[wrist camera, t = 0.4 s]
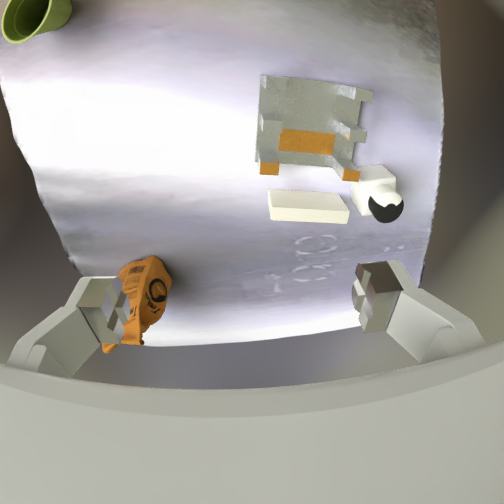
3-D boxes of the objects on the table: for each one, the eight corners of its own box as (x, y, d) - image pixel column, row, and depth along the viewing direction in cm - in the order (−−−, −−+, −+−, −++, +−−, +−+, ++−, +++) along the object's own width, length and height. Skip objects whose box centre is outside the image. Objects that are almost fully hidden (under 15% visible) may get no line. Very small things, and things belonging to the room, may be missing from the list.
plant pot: (34, 47, 35) (-1, 51, 26) (39, -3, 28) (5, -7, 19) (80, 34, 36) (47, 33, 27) (87, -19, 29) (56, -29, 20)
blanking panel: (268, 188, 57) (272, 207, 50) (337, 193, 58) (349, 211, 51) (267, 200, 58) (270, 220, 52) (335, 204, 59) (346, 223, 53)
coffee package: (178, 281, 70) (162, 358, 52) (137, 294, 72) (114, 365, 54) (157, 249, 64) (131, 325, 46) (116, 265, 67) (84, 336, 49)
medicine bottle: (381, 195, 58) (406, 224, 48) (350, 200, 58) (371, 230, 49) (381, 163, 54) (409, 188, 44) (349, 168, 54) (371, 193, 45)
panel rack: (260, 74, 44) (263, 75, 38) (360, 88, 45) (377, 92, 39) (254, 159, 53) (256, 174, 47) (347, 167, 54) (361, 182, 48)
